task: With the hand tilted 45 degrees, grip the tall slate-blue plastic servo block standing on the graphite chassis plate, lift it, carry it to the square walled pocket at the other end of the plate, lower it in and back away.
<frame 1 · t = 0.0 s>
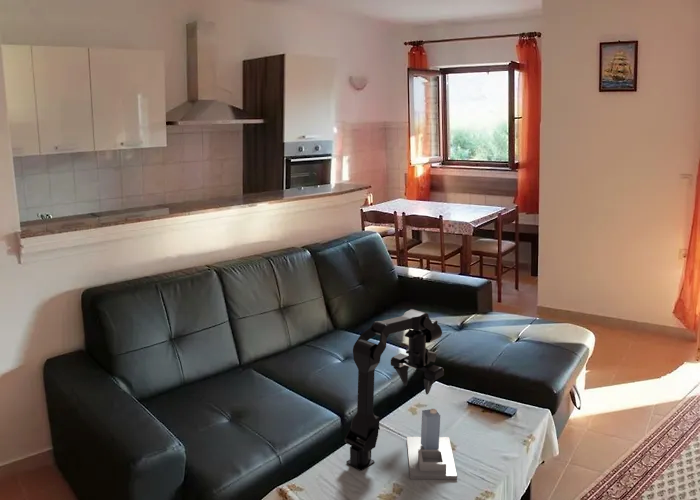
hand: (416, 389, 221), 14 cm above the table, tool pointing down, fingers open, 9 cm apart
chassis plate: (430, 458, 206), on the table
servo block: (429, 446, 210), point 2 cm above the table, touching chassis plate
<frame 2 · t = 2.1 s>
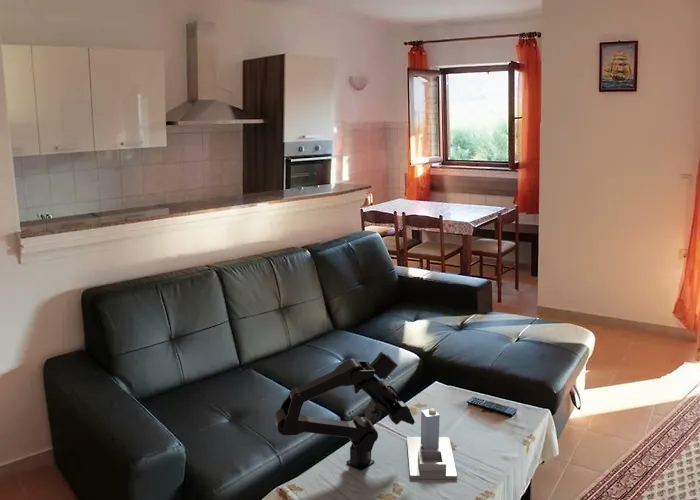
hand: (408, 416, 205), 13 cm above the table, tool tilted 45°, fingers open, 9 cm apart
nothing on the table moved.
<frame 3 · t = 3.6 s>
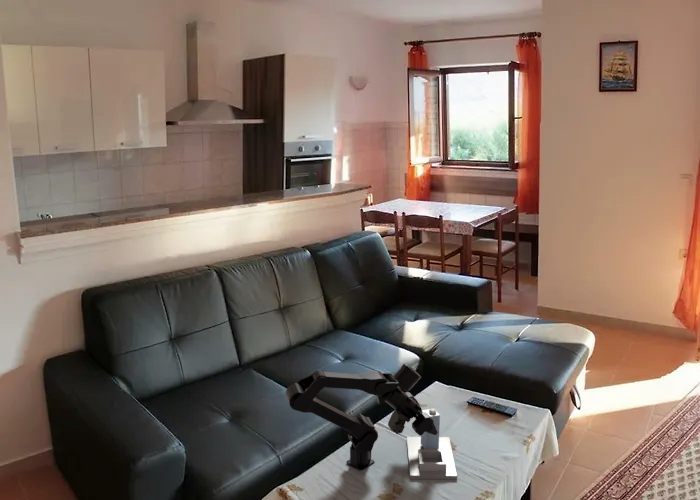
hand: (430, 426, 208), 9 cm above the table, tool tilted 45°, fingers open, 9 cm apart
nothing on the table moved.
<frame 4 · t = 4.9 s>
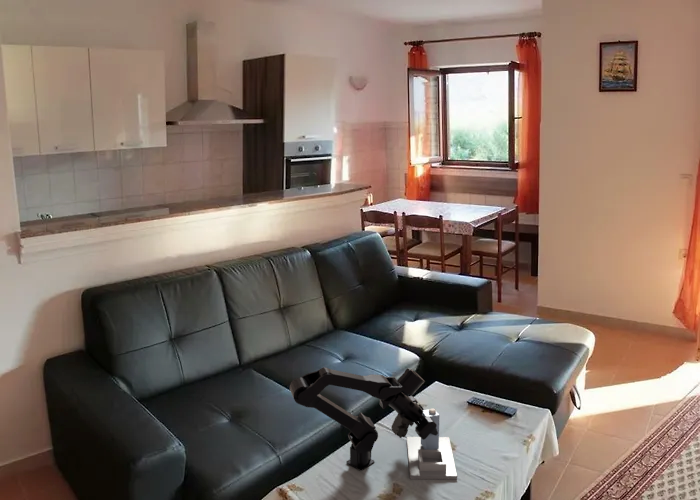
hand: (434, 430, 209), 7 cm above the table, tool tilted 45°, fingers closed on servo block, 4 cm apart
servo block: (429, 446, 210), point 2 cm above the table, touching chassis plate, gripper
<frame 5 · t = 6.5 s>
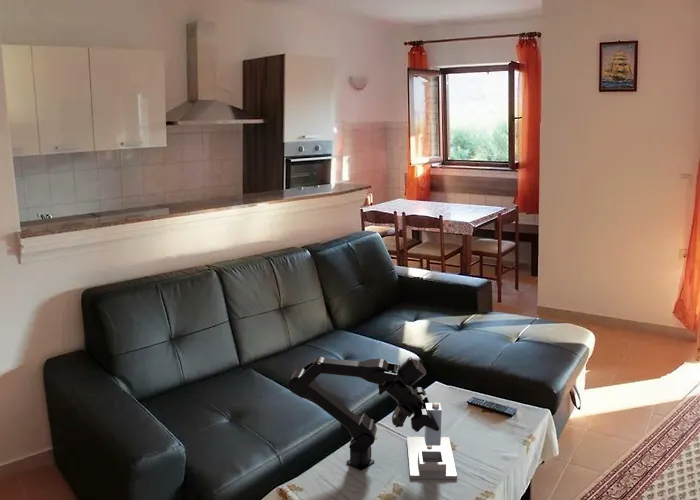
hand: (437, 426, 199), 13 cm above the table, tool tilted 45°, fingers closed on servo block, 4 cm apart
servo block: (432, 441, 201), point 8 cm above the table, touching gripper
when the fingers open (8 cm above the table, at t = 8.2 s): servo block drops 1 cm, resting on chassis plate.
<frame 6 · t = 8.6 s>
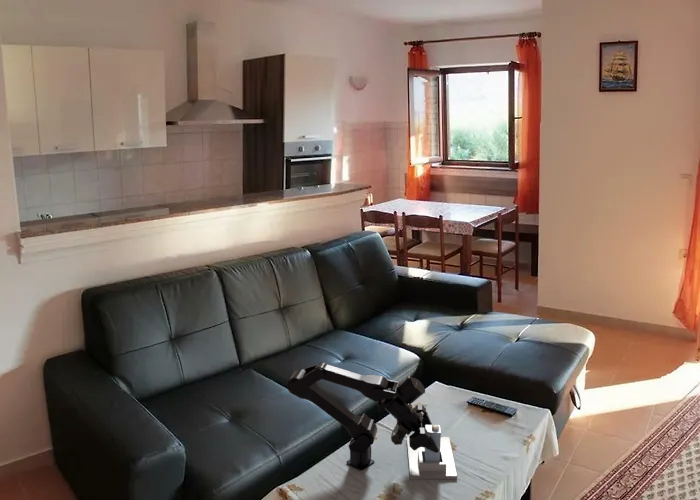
hand: (436, 444, 199), 8 cm above the table, tool tilted 45°, fingers open, 8 cm apart
servo block: (431, 463, 201), point 1 cm above the table, touching chassis plate
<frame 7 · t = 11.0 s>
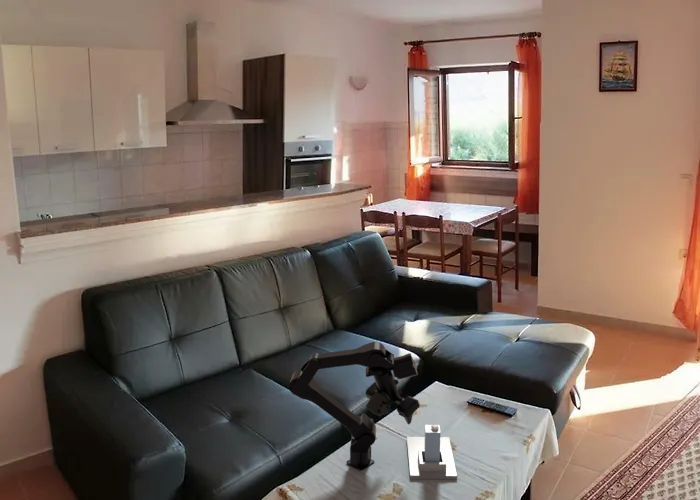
hand: (399, 418, 205), 13 cm above the table, tool tilted 20°, fingers open, 9 cm apart
nothing on the table moved.
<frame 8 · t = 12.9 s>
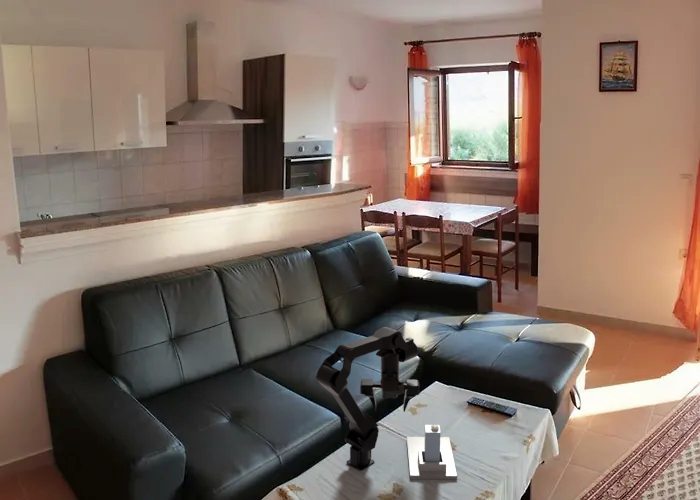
hand: (389, 411, 210), 13 cm above the table, tool pointing down, fingers open, 9 cm apart
nothing on the table moved.
at the end: servo block 0.0 cm from the target spot, point 1.2 cm above the table; servo block tilted 0°; the gripper is holding nothing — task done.
